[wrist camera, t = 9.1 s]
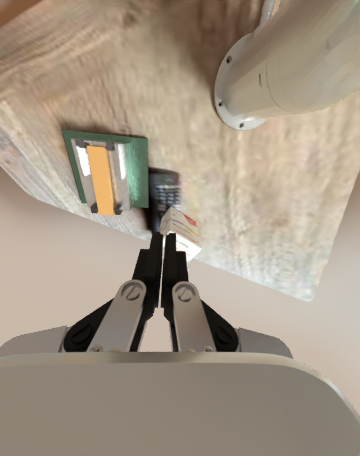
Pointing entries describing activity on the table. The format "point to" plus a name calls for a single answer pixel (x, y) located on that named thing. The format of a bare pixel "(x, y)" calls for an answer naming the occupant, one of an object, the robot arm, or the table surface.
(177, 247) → the ink cartridge box
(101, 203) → the orange wooden bar
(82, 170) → the board
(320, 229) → the table surface
